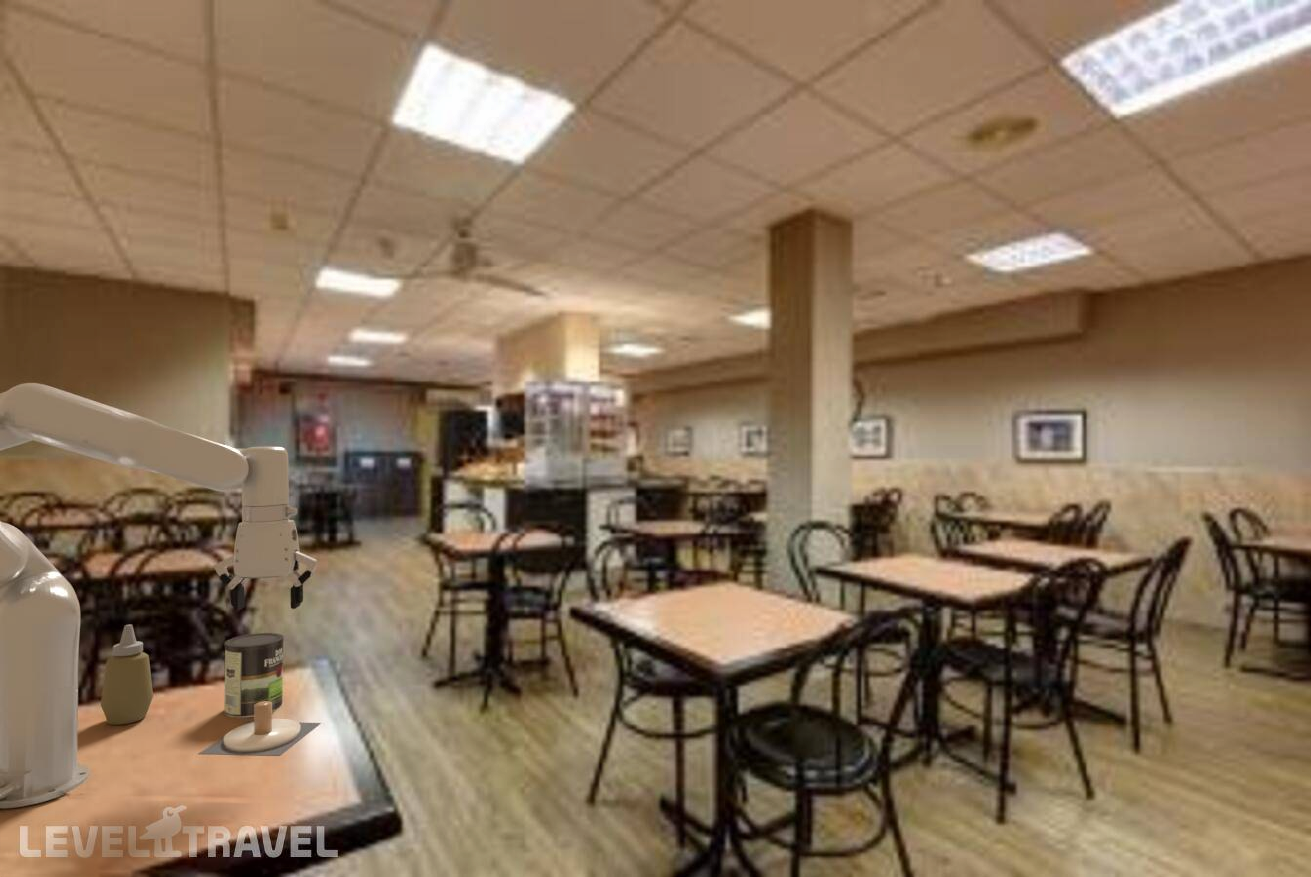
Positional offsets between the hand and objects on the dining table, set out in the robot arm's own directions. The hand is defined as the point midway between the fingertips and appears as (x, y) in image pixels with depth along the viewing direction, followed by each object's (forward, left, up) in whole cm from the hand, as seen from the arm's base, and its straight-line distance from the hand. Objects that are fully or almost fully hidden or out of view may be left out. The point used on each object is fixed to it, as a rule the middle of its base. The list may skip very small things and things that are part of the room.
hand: (267, 608), depth 131 cm
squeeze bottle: (+5, +30, -23) cm, 38 cm away
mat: (-3, -1, -23) cm, 23 cm away
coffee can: (+11, +9, -23) cm, 28 cm away
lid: (-3, -1, -22) cm, 23 cm away
